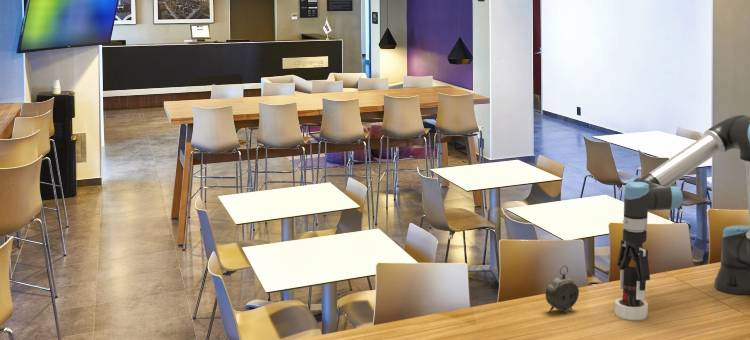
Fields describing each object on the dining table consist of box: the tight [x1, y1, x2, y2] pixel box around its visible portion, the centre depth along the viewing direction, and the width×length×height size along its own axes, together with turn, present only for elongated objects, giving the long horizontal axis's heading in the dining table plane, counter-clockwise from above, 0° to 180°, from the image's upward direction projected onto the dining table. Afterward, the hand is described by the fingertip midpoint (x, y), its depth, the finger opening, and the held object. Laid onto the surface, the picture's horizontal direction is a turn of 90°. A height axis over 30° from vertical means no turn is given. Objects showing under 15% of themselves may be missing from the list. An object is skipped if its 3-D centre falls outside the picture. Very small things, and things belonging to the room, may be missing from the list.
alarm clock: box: [545, 265, 580, 315], centre depth 296 cm, size 11×5×16 cm, turn 112°
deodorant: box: [622, 266, 642, 307], centre depth 292 cm, size 6×6×15 cm
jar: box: [614, 297, 649, 321], centre depth 293 cm, size 10×10×4 cm
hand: (632, 293), depth 292 cm, fingers open, 10 cm apart
